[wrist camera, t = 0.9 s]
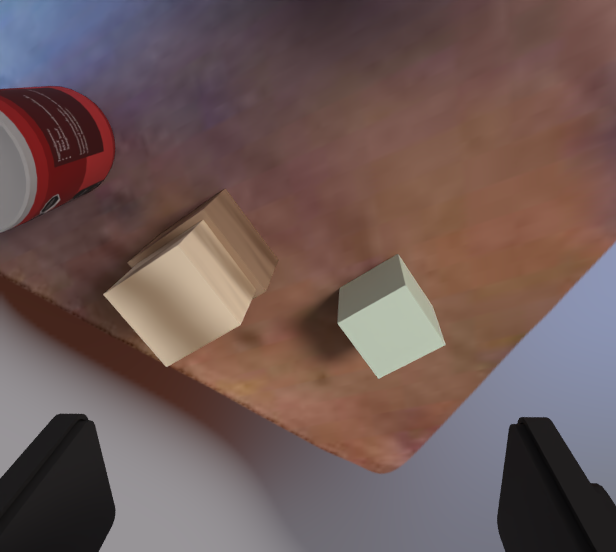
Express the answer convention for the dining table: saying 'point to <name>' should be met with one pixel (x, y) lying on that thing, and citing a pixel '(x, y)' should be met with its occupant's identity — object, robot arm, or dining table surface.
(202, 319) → the beech block
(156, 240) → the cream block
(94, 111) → the canned food
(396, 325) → the sage block
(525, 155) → the dining table surface
